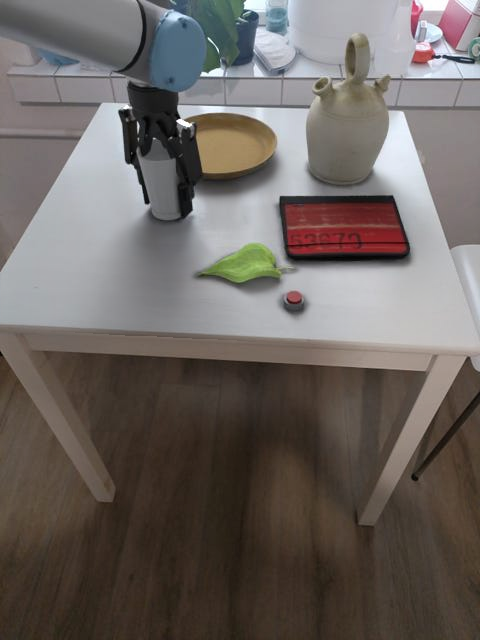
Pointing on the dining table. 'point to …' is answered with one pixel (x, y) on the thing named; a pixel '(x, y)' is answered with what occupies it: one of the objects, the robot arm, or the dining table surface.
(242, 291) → the dining table surface
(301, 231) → the notebook
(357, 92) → the jug
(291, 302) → the push button
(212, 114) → the plant saucer
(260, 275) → the leaf
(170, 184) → the cup
